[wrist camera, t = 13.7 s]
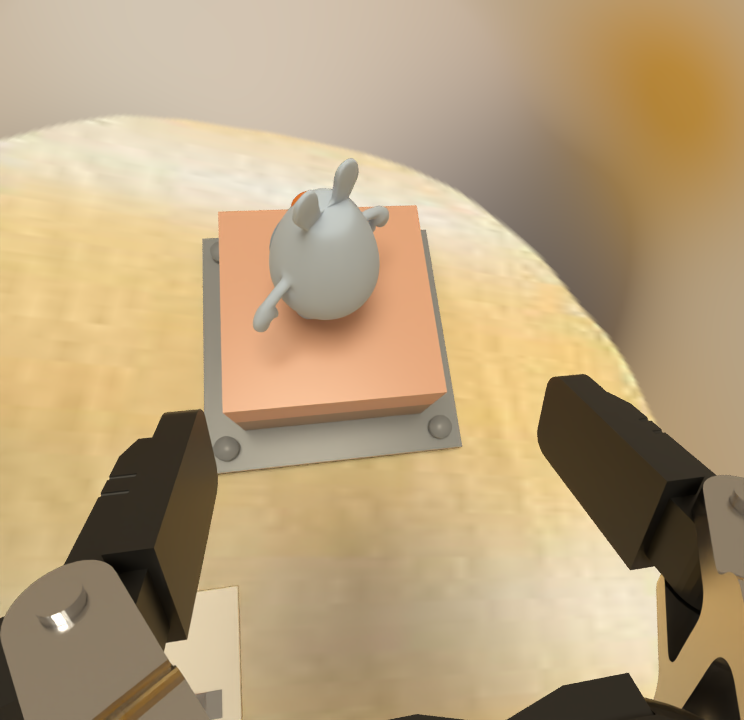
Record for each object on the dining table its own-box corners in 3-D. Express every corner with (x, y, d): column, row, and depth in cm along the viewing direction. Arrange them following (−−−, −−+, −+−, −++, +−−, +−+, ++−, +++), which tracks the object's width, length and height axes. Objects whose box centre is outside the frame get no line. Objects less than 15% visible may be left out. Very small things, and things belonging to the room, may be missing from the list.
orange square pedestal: (208, 475, 34) (169, 469, 25) (205, 244, 39) (172, 176, 31) (458, 447, 37) (500, 434, 28) (423, 235, 42) (449, 170, 34)
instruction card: (75, 862, 27) (72, 867, 26) (89, 606, 31) (86, 608, 30) (244, 825, 28) (244, 830, 28) (238, 585, 32) (237, 586, 32)
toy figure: (345, 222, 31) (359, 66, 20) (410, 280, 30) (463, 153, 19) (230, 320, 28) (168, 204, 17) (299, 387, 28) (282, 312, 16)
